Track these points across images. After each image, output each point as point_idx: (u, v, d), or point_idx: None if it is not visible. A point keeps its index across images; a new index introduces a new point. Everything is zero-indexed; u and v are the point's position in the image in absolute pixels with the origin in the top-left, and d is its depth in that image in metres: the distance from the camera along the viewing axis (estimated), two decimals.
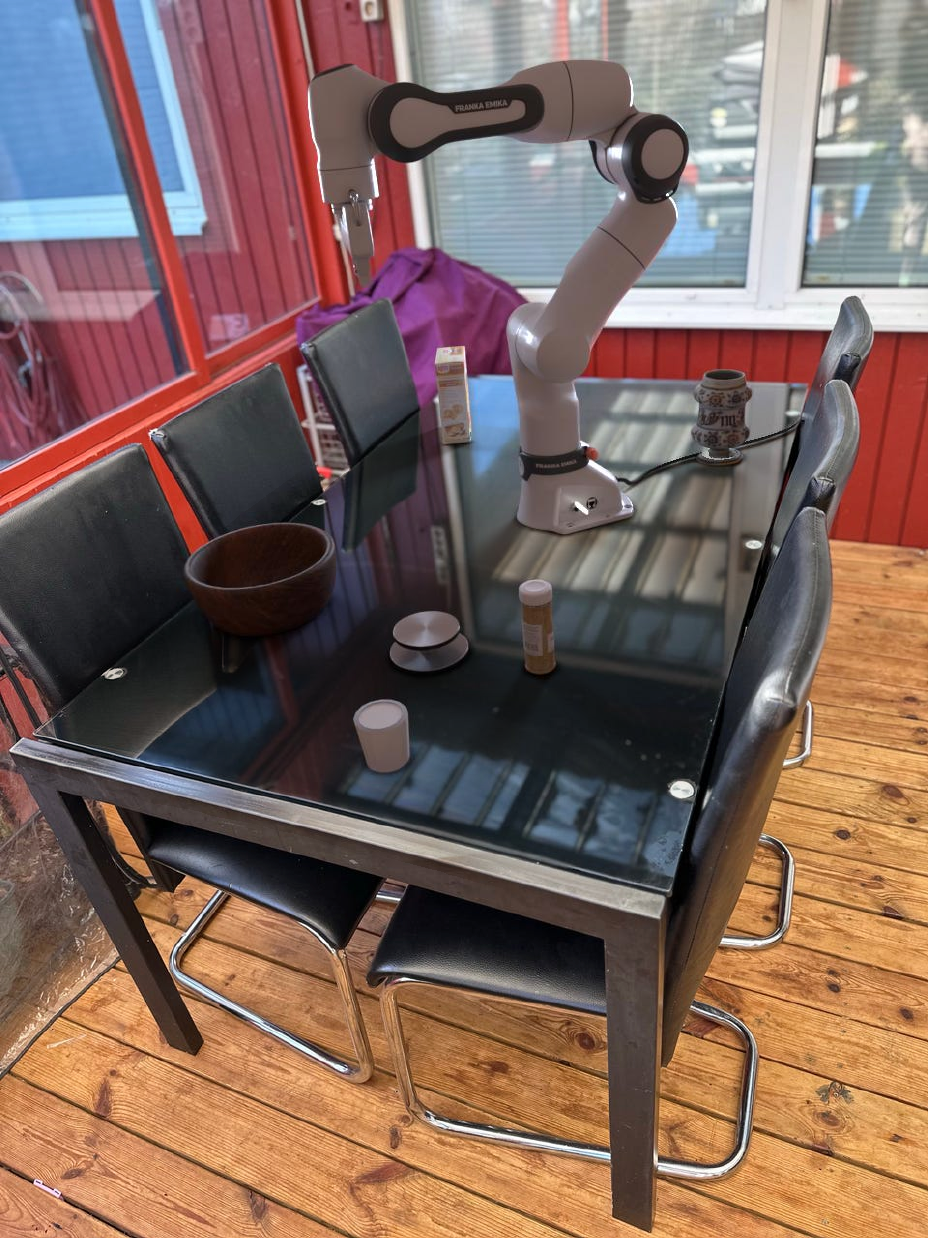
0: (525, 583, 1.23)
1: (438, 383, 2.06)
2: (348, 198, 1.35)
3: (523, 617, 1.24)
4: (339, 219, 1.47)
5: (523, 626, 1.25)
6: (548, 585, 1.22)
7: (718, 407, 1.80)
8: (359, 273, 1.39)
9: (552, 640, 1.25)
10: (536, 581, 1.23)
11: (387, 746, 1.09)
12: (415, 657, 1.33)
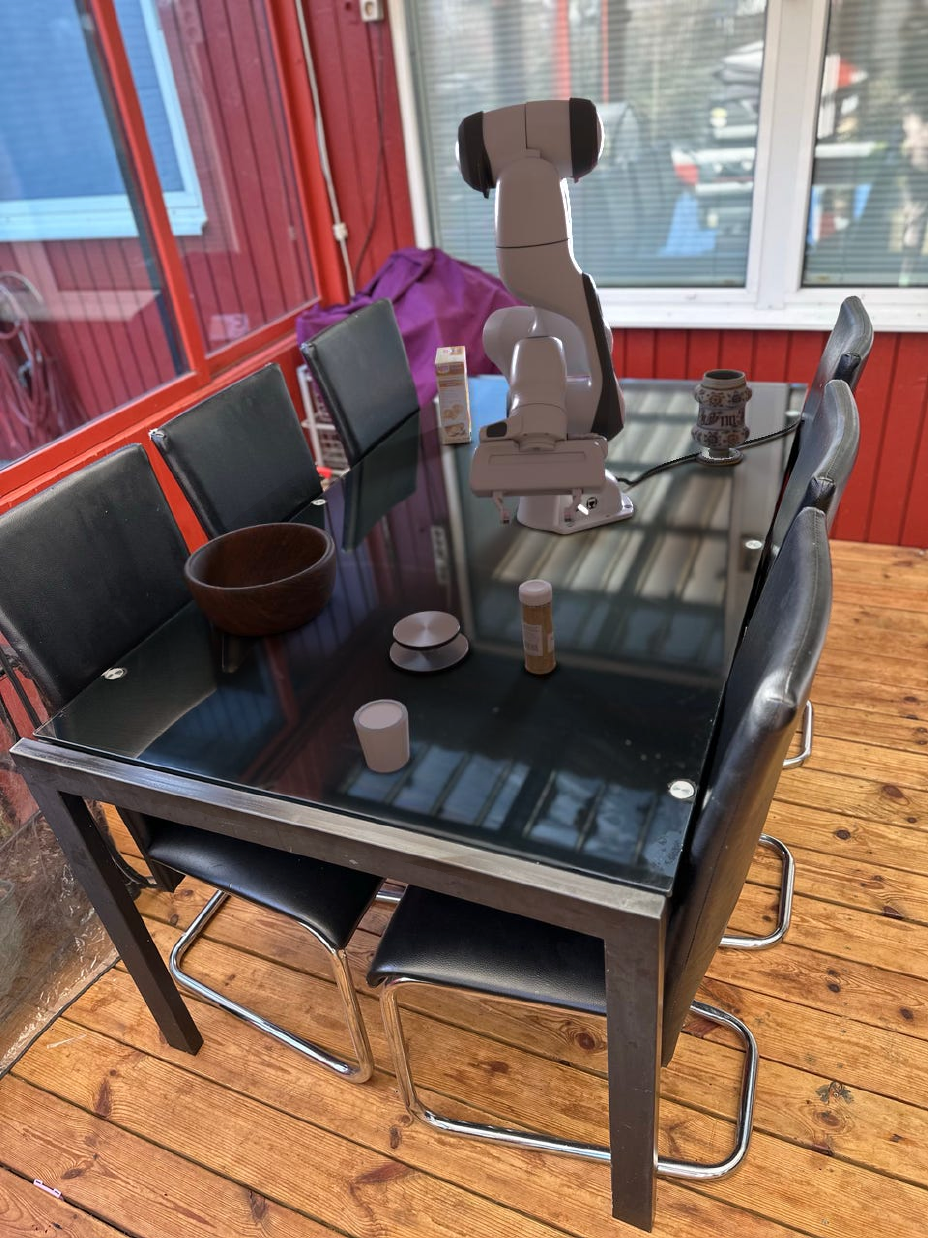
0: (525, 583, 1.23)
1: (438, 383, 2.06)
2: (566, 439, 1.32)
3: (523, 617, 1.24)
4: (482, 463, 1.31)
5: (523, 626, 1.25)
6: (548, 585, 1.22)
7: (718, 407, 1.80)
8: (576, 505, 1.29)
9: (552, 640, 1.25)
10: (536, 581, 1.23)
11: (387, 746, 1.09)
12: (415, 657, 1.33)
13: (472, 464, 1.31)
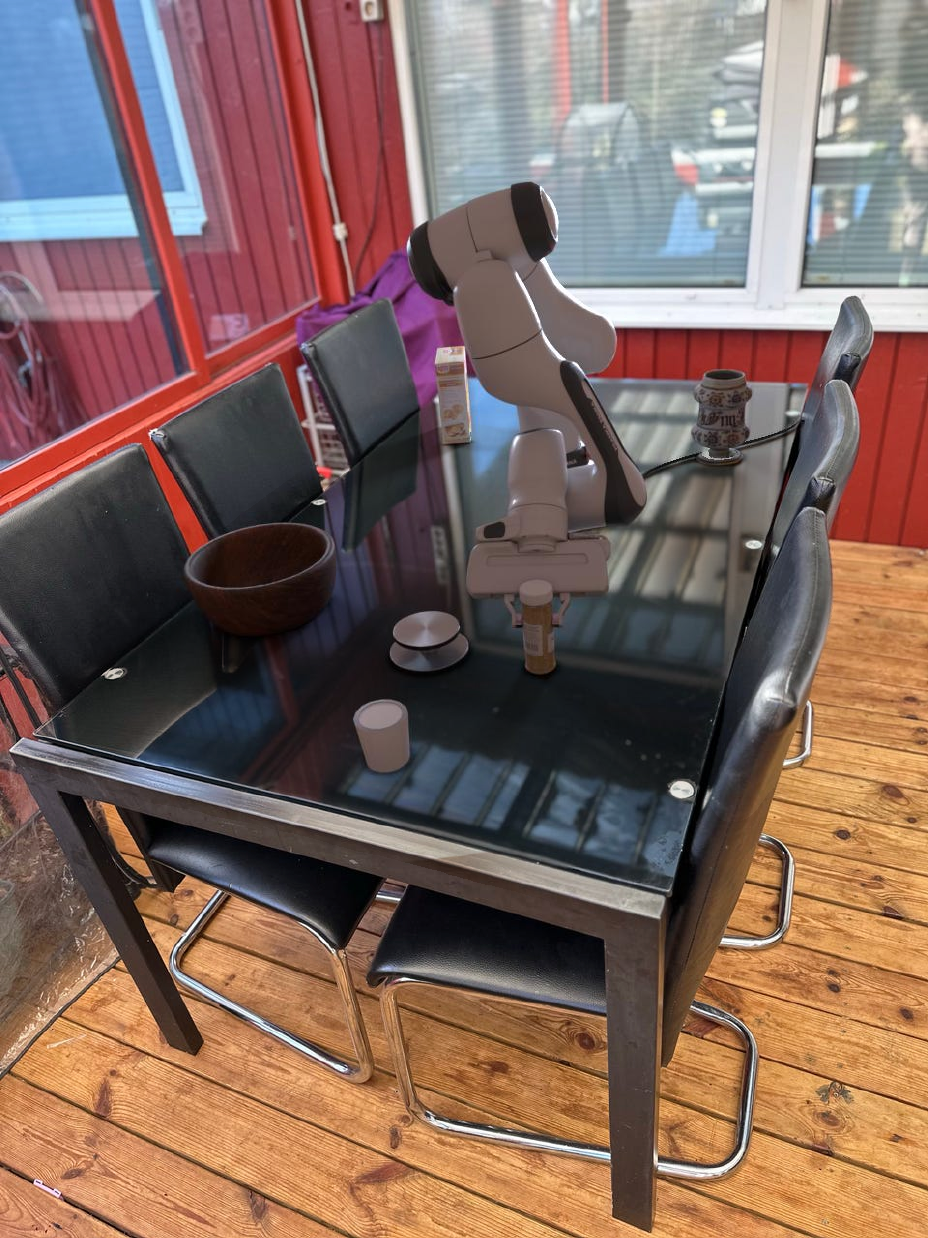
0: (525, 583, 1.23)
1: (438, 383, 2.06)
2: (567, 538, 1.26)
3: (523, 617, 1.24)
4: (479, 565, 1.26)
5: (523, 626, 1.25)
6: (548, 585, 1.22)
7: (718, 407, 1.80)
8: (564, 610, 1.24)
9: (552, 640, 1.25)
10: (536, 581, 1.23)
11: (387, 746, 1.09)
12: (415, 657, 1.33)
13: (469, 566, 1.26)
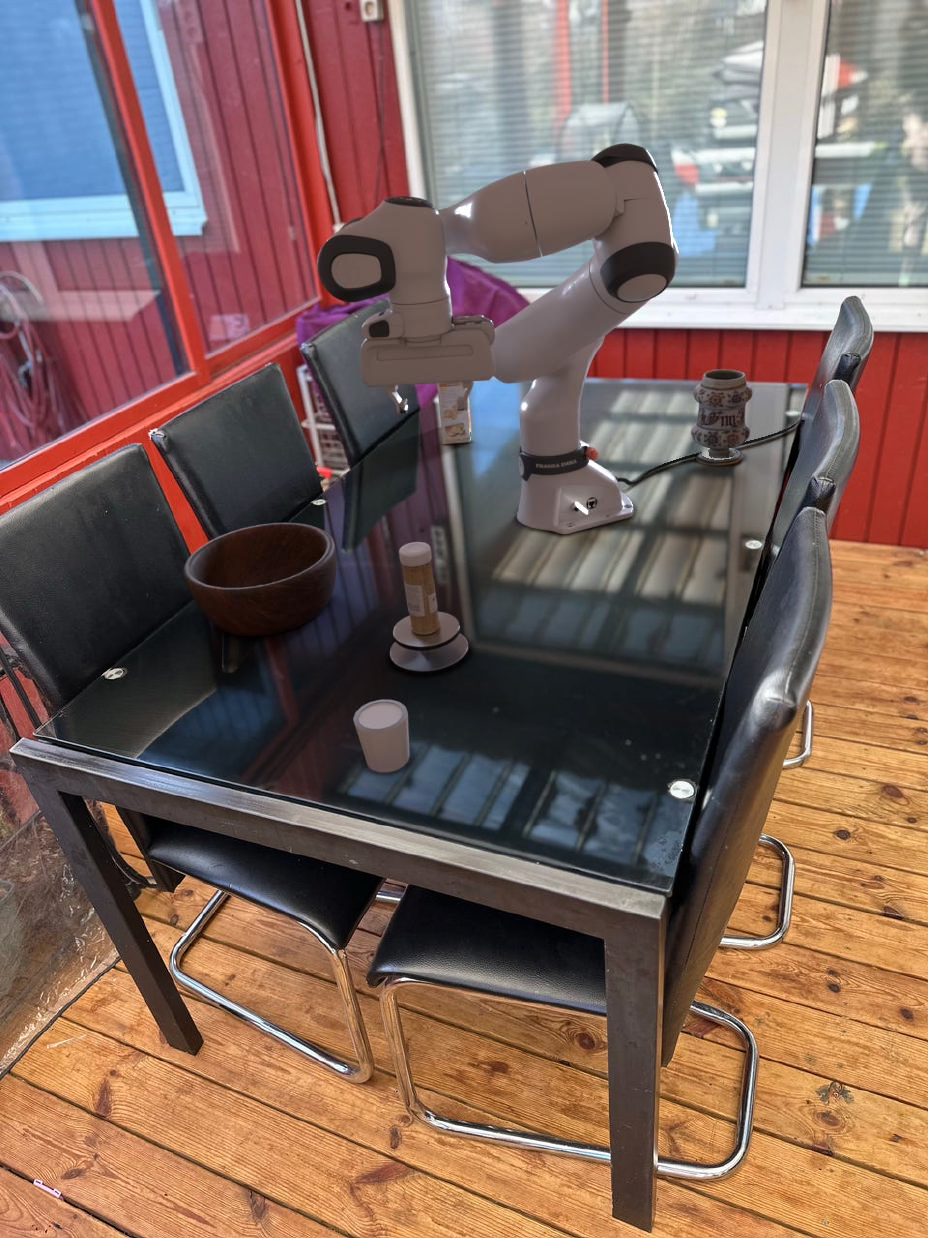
0: (406, 545, 1.27)
1: (438, 383, 2.06)
2: (451, 325, 1.28)
3: (404, 578, 1.28)
4: (371, 360, 1.31)
5: (405, 587, 1.28)
6: (427, 547, 1.26)
7: (718, 407, 1.80)
8: None
9: (434, 601, 1.29)
10: (417, 543, 1.27)
11: (387, 746, 1.09)
12: (415, 657, 1.33)
13: (361, 362, 1.31)
